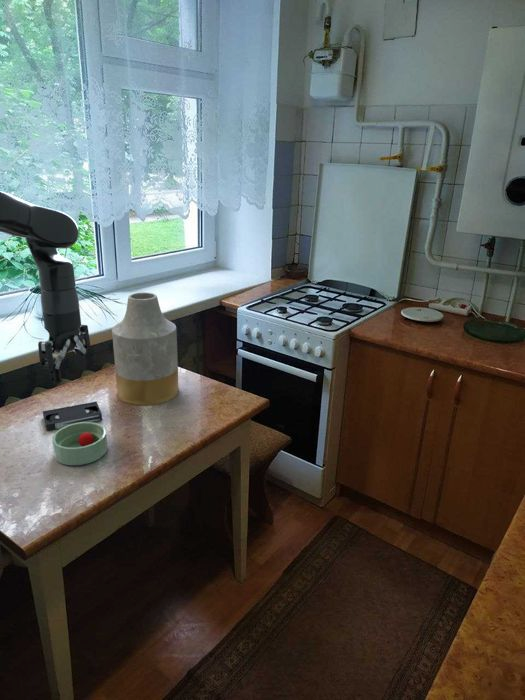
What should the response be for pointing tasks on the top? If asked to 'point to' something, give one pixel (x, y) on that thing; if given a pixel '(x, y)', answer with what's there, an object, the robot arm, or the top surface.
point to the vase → (145, 353)
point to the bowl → (72, 451)
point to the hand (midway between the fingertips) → (69, 375)
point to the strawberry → (86, 439)
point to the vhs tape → (71, 415)
